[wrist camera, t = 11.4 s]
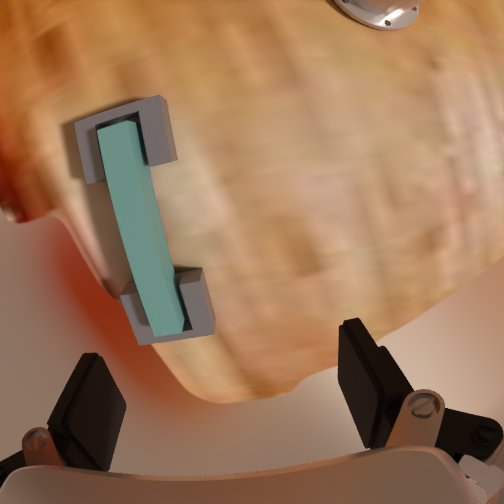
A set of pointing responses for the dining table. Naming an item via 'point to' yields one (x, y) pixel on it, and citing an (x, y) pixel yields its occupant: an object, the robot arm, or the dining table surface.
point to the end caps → (158, 152)
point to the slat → (141, 226)
